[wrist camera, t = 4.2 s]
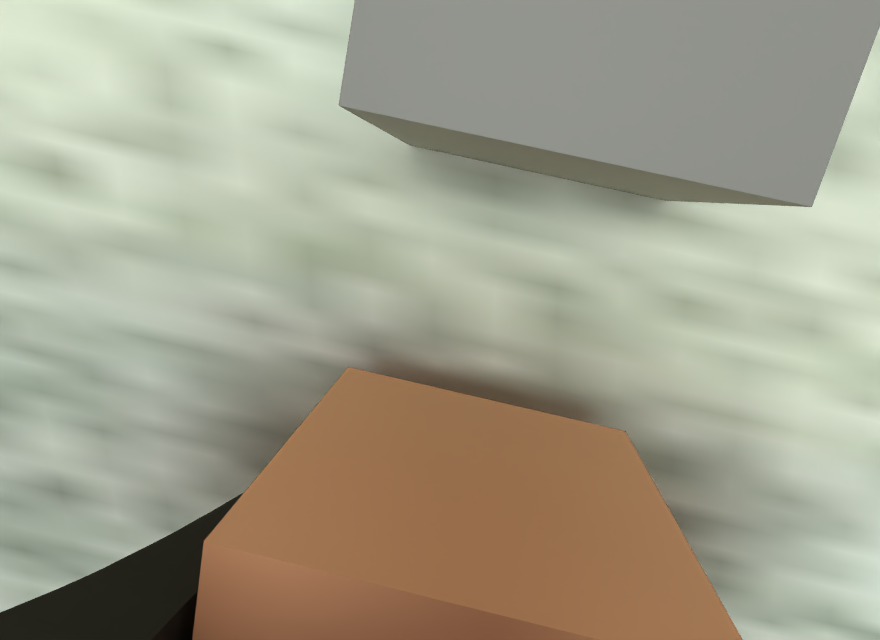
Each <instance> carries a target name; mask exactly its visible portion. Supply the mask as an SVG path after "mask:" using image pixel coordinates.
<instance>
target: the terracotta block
mask: <svg viewBox="0 0 880 640" xmlns="http://www.w3.org/2000/svg"><path fill="white" fill-rule="evenodd" d="M192 640H742V638H741V636H740V635H739V633H738V631H737V629H736V627H735V626H734V624H733V622H732V620H731V618H730V617H729V615H728V613H727V611H726V610H725V608H724V606H723V604H722V602H721V601H720V599H719V597H718V595H717V594H716V592H715V590H714V588H713V586H712V585H711V583H710V581H709V579H708V578H707V576H706V574H705V572H704V570H703V569H702V567H701V565H700V563H699V561H698V560H697V558H696V556H695V554H694V553H693V551H692V549H691V547H690V545H689V544H688V542H687V540H686V538H685V537H684V535H683V533H682V531H681V529H680V528H679V526H678V524H677V522H676V520H675V519H674V517H673V515H672V513H671V512H670V510H669V508H668V506H667V504H666V503H665V501H664V499H663V497H662V496H661V494H660V492H659V490H658V488H657V487H656V485H655V483H654V481H653V480H652V478H651V476H650V474H649V472H648V471H647V469H646V467H645V465H644V463H643V462H642V460H641V458H640V456H639V455H638V453H637V451H636V449H635V447H634V446H633V444H632V442H631V440H630V439H629V437H628V435H627V433H626V431H622V430H618V429H614V428H609V427H605V426H601V425H596V424H592V423H588V422H583V421H579V420H575V419H571V418H566V417H562V416H558V415H553V414H549V413H545V412H540V411H536V410H532V409H527V408H523V407H519V406H514V405H510V404H506V403H502V402H497V401H493V400H489V399H484V398H480V397H476V396H471V395H467V394H463V393H458V392H454V391H450V390H446V389H441V388H437V387H433V386H428V385H424V384H420V383H415V382H411V381H407V380H402V379H398V378H394V377H390V376H385V375H381V374H377V373H372V372H368V371H364V370H359V369H355V368H351V367H348V368H347V369H346V371H345V372H344V373H343V374H342V375H341V377H340V378H339V379H338V380H337V381H336V383H335V384H334V385H333V386H332V387H331V389H330V390H329V391H328V392H327V393H326V395H325V396H324V397H323V398H322V399H321V401H320V402H319V403H318V404H317V405H316V407H315V408H314V409H313V410H312V411H311V413H310V414H309V415H308V416H307V417H306V419H305V420H304V421H303V422H302V424H301V425H300V426H299V427H298V428H297V430H296V431H295V432H294V433H293V434H292V436H291V437H290V438H289V439H288V440H287V442H286V443H285V444H284V445H283V446H282V448H281V449H280V450H279V451H278V452H277V454H276V455H275V456H274V457H273V458H272V460H271V461H270V462H269V463H268V464H267V466H266V467H265V468H264V469H263V471H262V472H261V473H260V474H259V475H258V477H257V478H256V479H255V480H254V481H253V483H252V484H251V485H250V486H249V487H248V489H247V490H246V491H245V492H244V493H243V495H242V496H241V497H240V498H239V499H238V501H237V502H236V503H235V504H234V505H233V507H232V508H231V509H230V510H229V511H228V513H227V514H226V515H225V516H224V517H223V519H222V520H221V521H220V522H219V524H218V525H217V526H216V527H215V528H214V530H213V531H212V532H211V533H210V534H209V536H208V537H207V538H206V539H205V540H204V544H203V552H202V561H201V569H200V578H199V586H198V595H197V604H196V612H195V621H194V629H193V638H192Z"/></svg>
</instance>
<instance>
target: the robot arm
mask: <svg viewBox="0 0 880 640" xmlns="http://www.w3.org/2000/svg"><path fill="white" fill-rule="evenodd" d="M242 495H243V493H242V494H240V495H239V496H237V497H235V498H234V499H232V500H230V501H229V502H227V503H225V504H223V505H222V506H220V507H218V508H217V509H215V510H213V511H211V512H210V513H208V514H206V515H204V516H203V517H201V518H199V519H197V520H195V521H194V522H192V523H190V524H188V525H187V526H185V527H183V528H181V529H179V530H178V531H176V532H174V533H172V534H170V535H169V536H167V537H165V538H163V539H161V540H159V541H157V542H155V543H153V544H151V545H149V546H147V547H145V548H143V549H141V550H139V551H137V552H135V553H133V554H131V555H129V556H127V557H125V558H123V559H121V560H119V561H117V562H115V563H113V564H111V565H109V566H107V567H105V568H103V569H101V570H99V571H97V572H95V573H92V574H90V575H88V576H86V577H84V578H82V579H79V580H77V581H75V582H73V583H70V584H68V585H66V586H64V587H61V588H59V589H57V590H54V591H52V592H49V593H47V594H45V595H42V596H40V597H37V598H35V599H32V600H30V601H28V602H25V603H23V604H20V605H18V606H16V607H13V608H11V609H8V610H6V611H3V612H1V613H0V640H192V638H193V629H194V621H195V612H196V604H197V595H198V586H199V578H200V569H201V561H202V552H203V544H204V540H205V539H206V538H207V537H208V536H209V534H210V533H211V532H212V531H213V530H214V528H215V527H216V526H217V525H218V524H219V522H220V521H221V520H222V519H223V517H224V516H225V515H226V514H227V513H228V511H229V510H230V509H231V508H232V507H233V505H234V504H235V503H236V502H237V501H238V499H239V498H240V497H241V496H242Z"/></svg>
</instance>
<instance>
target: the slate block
mask: <svg viewBox="0 0 880 640" xmlns="http://www.w3.org/2000/svg"><path fill="white" fill-rule="evenodd" d="M879 27H880V0H355V3H354V10H353V16H352V22H351V29H350V35H349V42H348V48H347V55H346V61H345V67H344V74H343V80H342V87H341V93H340V100H339V106H341V107H342V108H344V109H346V110H348V111H350V112H351V113H353V114H355V115H357V116H358V117H360V118H362V119H364V120H366V121H367V122H369V123H371V124H373V125H375V126H376V127H378V128H380V129H382V130H383V131H385V132H387V133H389V134H391V135H392V136H394V137H396V138H398V139H400V140H401V141H403V142H405V143H407V144H409V145H411V146H416V147H420V148H425V149H430V150H434V151H439V152H444V153H448V154H453V155H457V156H462V157H467V158H471V159H476V160H480V161H485V162H490V163H494V164H499V165H504V166H508V167H513V168H517V169H522V170H527V171H531V172H536V173H540V174H545V175H550V176H554V177H559V178H564V179H568V180H573V181H577V182H582V183H587V184H591V185H596V186H600V187H605V188H610V189H614V190H619V191H624V192H628V193H633V194H637V195H642V196H647V197H651V198H656V199H660V200H665V201H688V202H711V203H734V204H758V205H781V206H804V207H812V205H813V203H814V200H815V197H816V195H817V192H818V189H819V187H820V184H821V181H822V179H823V176H824V173H825V171H826V168H827V165H828V163H829V160H830V157H831V155H832V152H833V149H834V147H835V144H836V141H837V139H838V136H839V133H840V131H841V128H842V125H843V123H844V120H845V117H846V115H847V112H848V109H849V107H850V104H851V101H852V99H853V96H854V93H855V91H856V88H857V85H858V83H859V80H860V77H861V75H862V72H863V69H864V67H865V64H866V61H867V59H868V56H869V53H870V51H871V48H872V45H873V43H874V40H875V37H876V35H877V32H878V29H879Z"/></svg>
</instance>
